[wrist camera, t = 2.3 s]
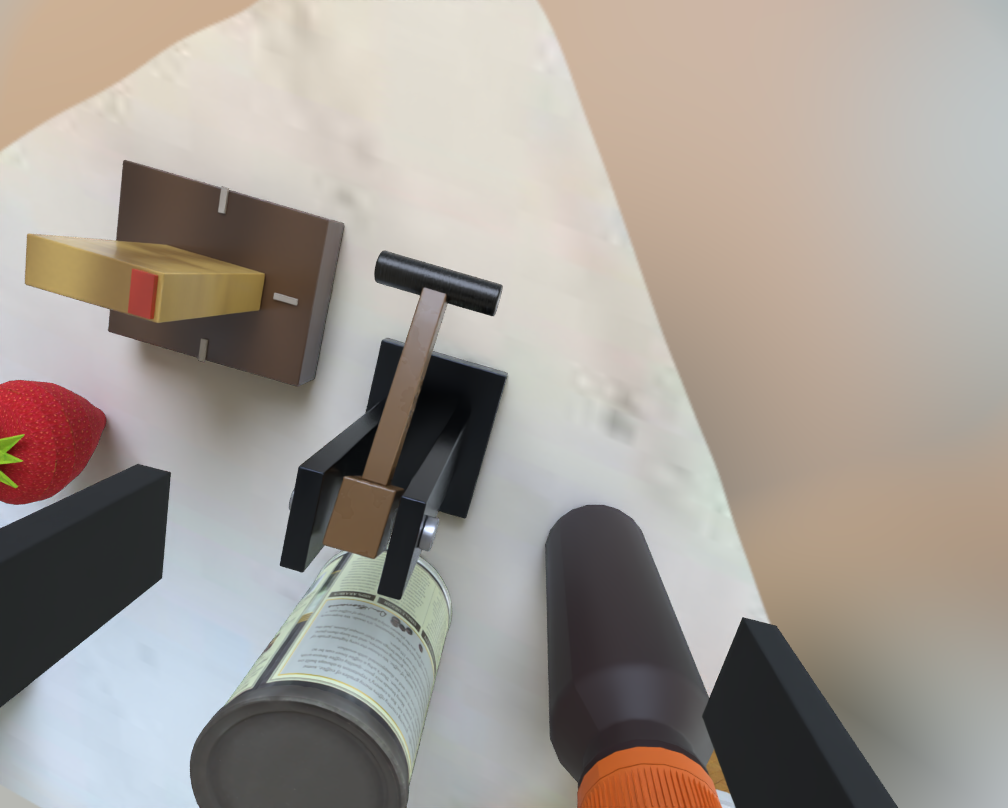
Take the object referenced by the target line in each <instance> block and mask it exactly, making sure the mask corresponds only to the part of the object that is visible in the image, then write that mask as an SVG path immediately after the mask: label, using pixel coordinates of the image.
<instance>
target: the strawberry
mask: <svg viewBox="0 0 1008 808" xmlns="http://www.w3.org/2000/svg"><path fill="white" fill-rule="evenodd" d="M105 425H106V417H105V415H104V413H103V412H102V411H101V410H100V409H98V408H96V407H95V406H93V405H92V404H91V403H90V402H89V401H87V400H86V399H84V398H83V397H81V396H79V395H77V394H75V393H73V392H71V391H69V390H67V389H65V388H63V387H61V386H59V385H56V384H53V383H47V382H36V381H24V380H15V381H8V382H6V383H3V384H0V501H2V502H5V503H8V504H14V505H19V504H27V503H32V502H36V501H41V500H44V499H47V498H50V497H52V496H54V495H55V494H57V493H58V492H59V491H61V490H62V489H63V488H64V487H65V486H66V485H68V484H69V483H70V482H71V481H72V480H73V479H75V478H76V477H77V476H78V475H79V474H80V473H81V472H82V471H83V470H84V468H85V466H86V464H87V463H88V461H89V459H90V457H91V456H92V454H93V452H94V450H95V449H96V447H97V445H98V442H99V440H100V436H101V433H102V431H103V429H104V427H105Z"/></svg>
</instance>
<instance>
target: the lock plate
mask: <svg viewBox="0 0 1008 808" xmlns="http://www.w3.org/2000/svg"><path fill="white" fill-rule="evenodd" d="M343 229H344V224H343V223H341V222H337V221H334V220H330V219H327V218H324V217H320V216H317V215H313V214H310V213H306V212H303V211H300V210H296V209H293V208H289V207H286V206H282V205H279V204H276V203H272V202H269V201H265V200H262V199H258V198H255V197H252V196H248V195H245V194H241V193H238V192H235V191H231V190H229V188H226V187H217V186H214V185H211V184H207V183H204V182H200V181H197V180H193V179H190V178H187V177H183V176H180V175H176V174H173V173H169V172H166V171H163V170H159V169H156V168H152V167H149V166H145V165H141V164H138V163H134V162H131V161H127V160H124V161H123V170H122V182H121V193H120V204H119V215H118V227H117V238H116V241H126V242H139V243H151V244H163V245H169V246H172V247H176V248H179V249H183V250H186V251H189V252H193V253H196V254H200V255H203V256H207V257H210V258H213V259H217V260H220V261H224V262H227V263H231V264H234V265H237V266H241V267H244V268H248V269H251V270H255V271H258V272H261V273H264V274H265V279H264V285H263V291H262V297H261V303H260V309H259V310H258V311H250V312H242V313H234V314H226V315H218V316H210V317H202V318H194V319H186V320H178V321H170V322H162V323H156V322H152V321H149V320H145V319H142V318H139V317H135V316H132V315H128V314H125V313H121V312H118V311H114V310H111V309H110V316H109V328H108V331H109V332H112V333H115V334H118V335H122V336H125V337H129V338H132V339H136V340H139V341H142V342H146V343H149V344H153V345H156V346H160V347H163V348H167V349H170V350H173V351H177V352H180V353H184V354H187V355H191V356H194V357H198V361H201V362H205V360H208V361H211V362H215V363H218V364H222V365H225V366H228V367H232V368H235V369H239V370H242V371H246V372H249V373H253V374H256V375H259V376H263V377H266V378H270V379H273V380H277V381H280V382H284V383H287V384H290V385H294V386H300V385H302V384H304V383H306V382H309V381H311V380H313V379H314V378H315V373H316V368H317V363H318V358H319V353H320V348H321V342H322V337H323V332H324V327H325V322H326V317H327V311H328V306H329V301H330V296H331V291H332V286H333V280H334V275H335V270H336V265H337V260H338V255H339V250H340V244H341V239H342V234H343Z"/></svg>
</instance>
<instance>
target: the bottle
mask: <svg viewBox="0 0 1008 808" xmlns="http://www.w3.org/2000/svg"><path fill="white" fill-rule="evenodd" d="M545 548H546V594H547V637H548V680H549V724H550V740H551V742H552V745H553V747H554V750H555V752H556V754H557V757H558V759H559V761H560V763H561V764H562V766H563V767H564V768H565V769H566V770H567V771H568V772H569V773H570V775H571V776H572V777H573V778H574V779H575V780H576V781H577V782H578V792H577V796H578V808H722V806H721V804H720V801H719V798H718V795H717V792H716V789H715V786H714V783H713V780H712V779H711V778H710V776H709V773H708V770H707V768H706V765H707V763H708V761H709V759H710V757H711V755H712V753H713V751H714V748H713V745H712V742H711V740H710V737H709V734H708V731H707V729H706V726H705V723H704V720H703V718H702V715H703V712H704V710H705V707H706V705H707V703H708V700H709V697H708V694H707V692H706V689H705V687H704V684H703V682H702V679H701V677H700V674H699V672H698V669H697V667H696V665H695V662H694V660H693V657H692V655H691V652H690V650H689V647H688V645H687V642H686V640H685V637H684V635H683V632H682V630H681V627H680V625H679V622H678V620H677V617H676V615H675V612H674V610H673V607H672V605H671V602H670V600H669V597H668V595H667V592H666V590H665V587H664V585H663V582H662V580H661V577H660V575H659V573H658V570H657V568H656V565H655V563H654V560H653V558H652V555H651V553H650V550H649V548H648V545H647V543H646V540H645V538H644V535H643V533H642V531H641V529H640V528H639V527H638V525H637V524H636V523H635V522H634V520H633V519H632V518H630V517H629V516H627V515H626V514H624V513H623V512H621V511H620V510H618V509H615V508H612V507H608V506H605V505H586V506H583V507H580V508H576V509H573V510H571V511H570V512H568V513H567V514H565V515H564V516H562V517H561V518H560V519H559V520H558V521H557V523H556V524H555V525H554V526H553V528H552V529H551V530H550V533H549V536H548V539H547V542H546V544H545Z"/></svg>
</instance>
